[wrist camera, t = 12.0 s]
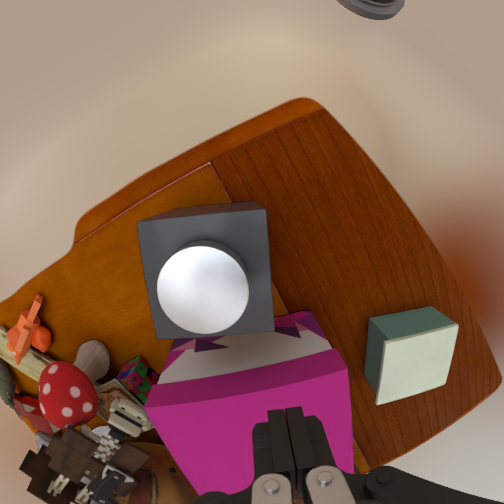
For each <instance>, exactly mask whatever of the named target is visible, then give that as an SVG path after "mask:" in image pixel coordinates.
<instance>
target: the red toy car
mask: <svg viewBox="0 0 504 504" xmlns="http://www.w3.org/2000/svg"><path fill="white" fill-rule="evenodd" d="M14 404H15V406H16V408H17V410H18V412H19V414H20V415H22V416H24V417H26V418H28V419H29V421H30V423H31V424H32V426H33V428H34V429H37V430H39V431H42V432H46V433H49V434H53V435H54V433H58V432H59V431H60V430H62V429H61V428H57V427H55V426H53V425H52V424H51V423H49V422H48V421H47V420H46V419H45V417H44V415H43V414H42V412H41V409H40V406H39V400H38V399H35V398H32V397H28V396H26V394H25V393H24V392H20V393H15V396H14Z"/></svg>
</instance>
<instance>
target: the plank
mask: <svg viewBox="0 0 504 504" xmlns="http://www.w3.org/2000/svg"><path fill="white" fill-rule="evenodd" d="M7 333H8V331H7V330H6V329H5V328H4V327H2V326H0V357H1V358H2V359H4V360H5V361H6V362H8V363H9V364H11V365H12V366H14V367H15V368H17V369H18V370H20V371H21V372H22V373H24V374H25V375H27V376H29V377H30V378H32V379H34V380H35V381H37V382H39V379H40V375H41V373H42V371H43V369H44V368H45V367H46V366H47V365H49V364H50V363H53V362H56V361H55V360H52V359H51V358H50V357H48V356H45V355H44V354H41V353H40V352H37V351H35V350H34V349H32V348H31V347H30V348H29V350H28V352H26V355H25V356H24V357H23V358H22V359H21V362H20V364H19V365H16V362H15V357H14V356H13V355H12V354H11V352H10V351H9V349H8V348H7V343H8V342H9V340H8V338H7ZM93 385H94V387H95V388H97V387H99V386H101V384H99V383H97V382H94V383H93Z"/></svg>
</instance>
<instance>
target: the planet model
mask: <svg viewBox="0 0 504 504" xmlns="http://www.w3.org/2000/svg"><path fill="white" fill-rule="evenodd" d="M293 504H304V499H303V498H298V499H297V495H296V499H293Z"/></svg>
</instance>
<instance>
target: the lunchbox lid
mask: <svg viewBox="0 0 504 504" xmlns="http://www.w3.org/2000/svg"><path fill="white" fill-rule="evenodd" d="M458 326H459V325H458V324H452V325H449V326H445V327H441V328H437V329H434V330H430V331H426V332H422V333H418V334H413V335H409V336H405V337H401V338H396V339H391V340H387V341H384V345H383V353H382V361H381V369H380V375H379V382H378V388H377V394H376V400H375V403H376V405H380V404H384V403H388V402H391V401H395V400H398V399H402V398H405V397H408V396H412V395H415V394H418V393H421V392H424V391H427V390H430V389H433V388H436V387H439V386H442V385H444V384H445V383H446V379H447V375H448V371H449V368H450V364H451V359H452V355H453V351H454V346H455V342H456V337H457V332H458Z"/></svg>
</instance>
